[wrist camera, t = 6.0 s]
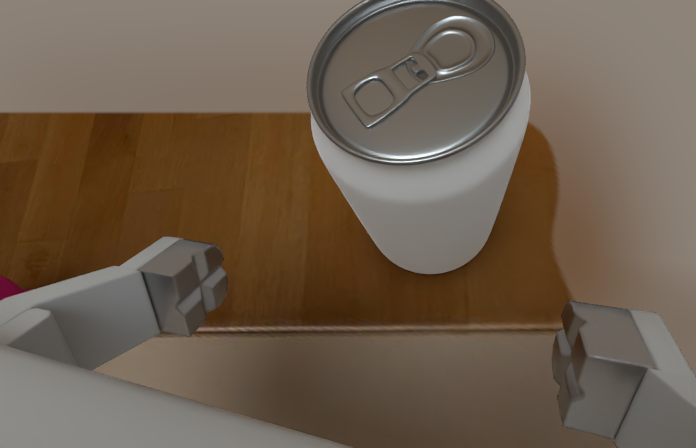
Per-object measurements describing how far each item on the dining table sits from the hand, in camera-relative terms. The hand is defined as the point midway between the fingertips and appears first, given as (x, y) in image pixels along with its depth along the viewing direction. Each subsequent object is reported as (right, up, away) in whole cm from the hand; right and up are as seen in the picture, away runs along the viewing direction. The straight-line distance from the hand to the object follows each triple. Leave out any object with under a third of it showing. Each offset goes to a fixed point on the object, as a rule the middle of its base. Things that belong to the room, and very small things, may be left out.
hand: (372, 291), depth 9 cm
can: (+4, +2, +12) cm, 13 cm away
